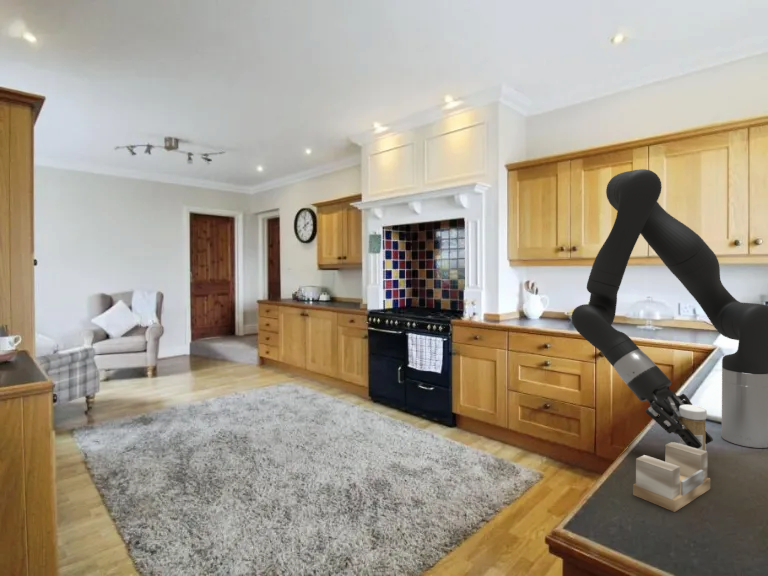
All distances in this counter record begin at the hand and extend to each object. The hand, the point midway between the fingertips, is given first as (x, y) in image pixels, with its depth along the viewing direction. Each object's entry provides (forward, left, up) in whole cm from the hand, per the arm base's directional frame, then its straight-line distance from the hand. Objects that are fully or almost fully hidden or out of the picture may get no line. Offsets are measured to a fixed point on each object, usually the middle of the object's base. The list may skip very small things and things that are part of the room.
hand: (703, 445), depth 87 cm
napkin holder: (+12, 0, -6) cm, 14 cm away
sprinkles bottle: (0, -2, -6) cm, 7 cm away
